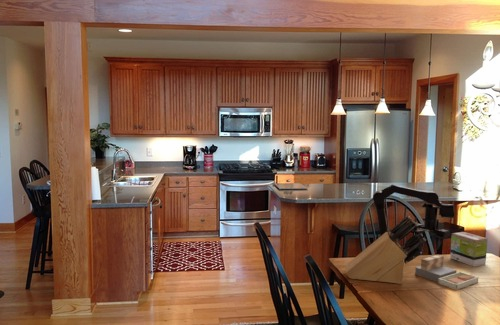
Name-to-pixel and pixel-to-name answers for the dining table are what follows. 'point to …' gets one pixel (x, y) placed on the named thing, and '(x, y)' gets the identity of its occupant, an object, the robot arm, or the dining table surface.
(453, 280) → the tile near
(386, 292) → the dining table surface
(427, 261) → the strip
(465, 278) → the tile far
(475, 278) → the tray
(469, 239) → the tea box
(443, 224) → the robot arm
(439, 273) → the board
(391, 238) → the knife block
